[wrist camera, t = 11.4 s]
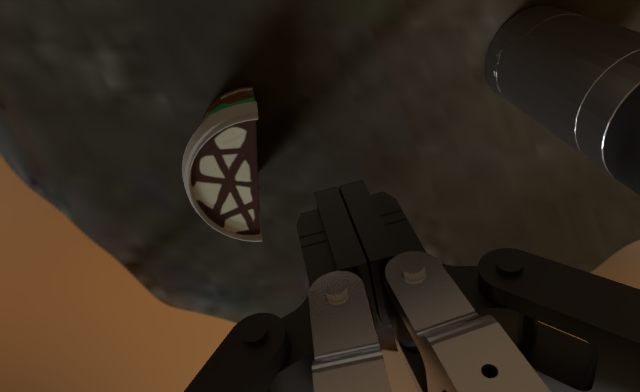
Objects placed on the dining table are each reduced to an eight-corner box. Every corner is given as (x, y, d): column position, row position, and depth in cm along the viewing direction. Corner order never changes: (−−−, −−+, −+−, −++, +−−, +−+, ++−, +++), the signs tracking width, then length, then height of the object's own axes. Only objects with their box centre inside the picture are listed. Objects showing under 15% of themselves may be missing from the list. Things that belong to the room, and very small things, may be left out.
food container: (181, 70, 42) (170, 114, 33) (251, 69, 43) (258, 111, 34) (195, 190, 48) (188, 251, 40) (256, 187, 49) (262, 246, 41)
